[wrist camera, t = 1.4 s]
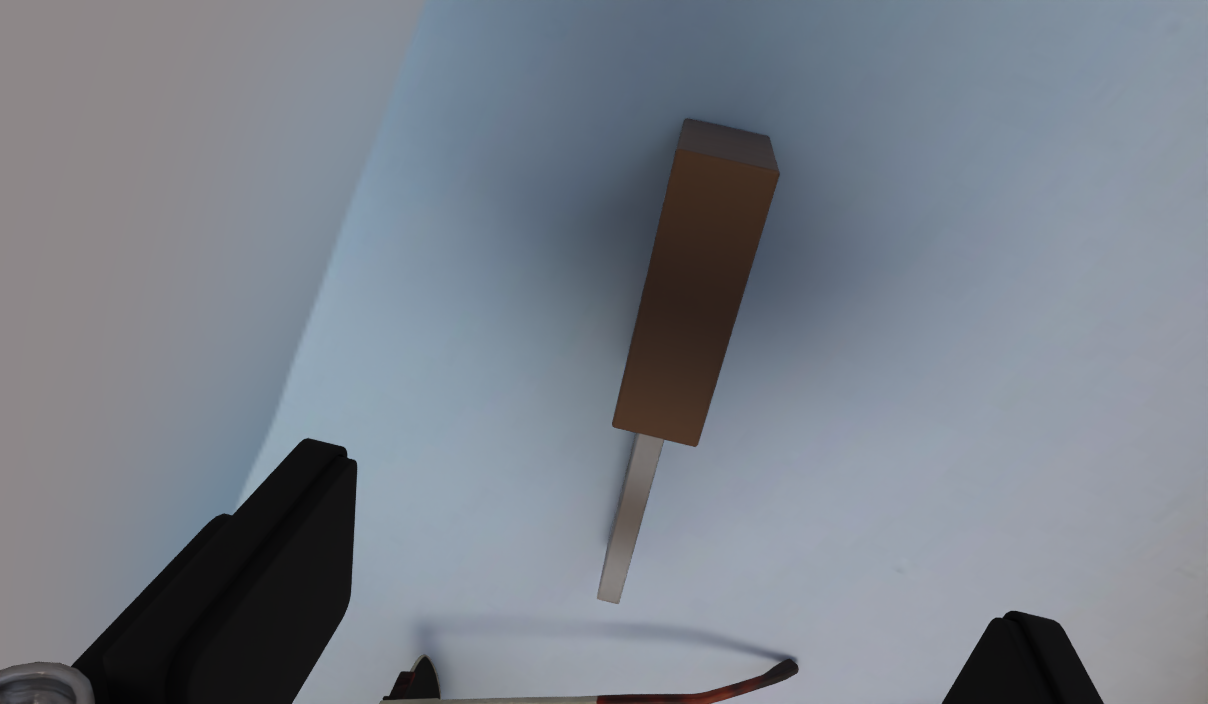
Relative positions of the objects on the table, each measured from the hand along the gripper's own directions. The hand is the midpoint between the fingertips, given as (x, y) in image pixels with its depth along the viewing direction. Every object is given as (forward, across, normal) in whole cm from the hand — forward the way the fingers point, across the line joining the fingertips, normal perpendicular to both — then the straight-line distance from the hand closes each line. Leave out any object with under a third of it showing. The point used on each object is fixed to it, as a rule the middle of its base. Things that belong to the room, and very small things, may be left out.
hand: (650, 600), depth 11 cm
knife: (+14, 0, +3) cm, 15 cm away
